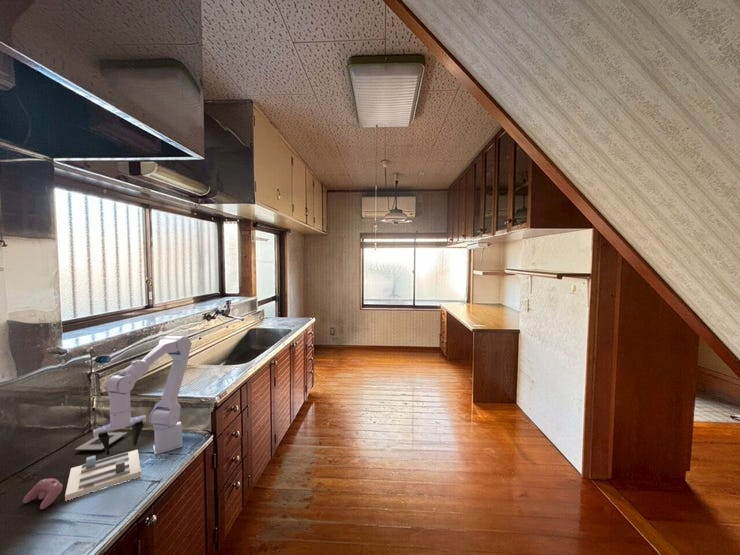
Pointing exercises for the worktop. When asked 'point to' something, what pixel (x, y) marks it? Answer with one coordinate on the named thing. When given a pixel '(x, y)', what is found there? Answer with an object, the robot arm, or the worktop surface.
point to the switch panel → (102, 474)
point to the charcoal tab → (120, 466)
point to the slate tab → (91, 462)
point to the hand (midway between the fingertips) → (121, 449)
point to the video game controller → (45, 492)
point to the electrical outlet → (97, 444)
